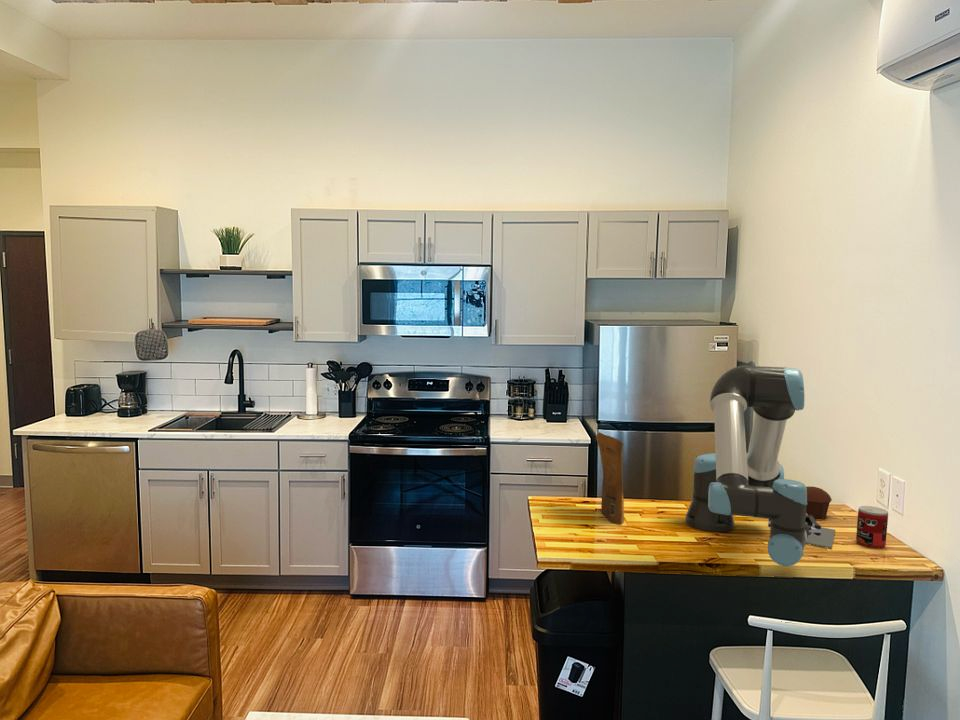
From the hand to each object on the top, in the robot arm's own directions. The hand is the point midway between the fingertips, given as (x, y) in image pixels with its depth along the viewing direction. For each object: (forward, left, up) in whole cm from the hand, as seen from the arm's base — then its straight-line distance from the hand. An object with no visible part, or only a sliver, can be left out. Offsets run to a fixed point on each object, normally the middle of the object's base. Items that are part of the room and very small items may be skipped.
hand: (800, 510), depth 190 cm
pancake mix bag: (-58, +6, -15) cm, 60 cm away
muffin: (0, +49, -15) cm, 51 cm away
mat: (0, +26, -15) cm, 30 cm away
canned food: (+18, +28, -15) cm, 37 cm away
